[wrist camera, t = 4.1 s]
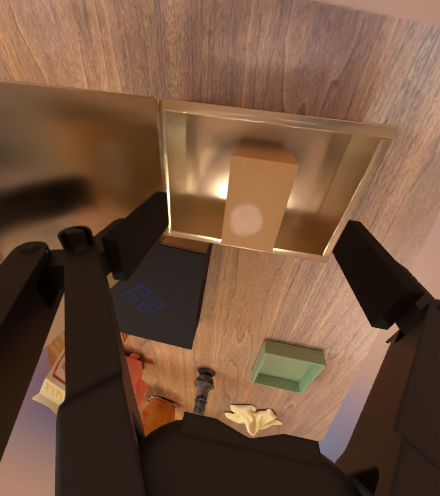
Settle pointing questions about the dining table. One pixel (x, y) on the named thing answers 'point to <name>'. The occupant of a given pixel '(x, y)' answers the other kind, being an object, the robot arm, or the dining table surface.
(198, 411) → the dark chess piece
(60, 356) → the milk carton
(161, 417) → the vase
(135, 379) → the teapot
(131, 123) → the lid
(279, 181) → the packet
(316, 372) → the tray
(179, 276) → the book
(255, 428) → the cloth
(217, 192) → the gold metal box
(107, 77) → the dining table surface
